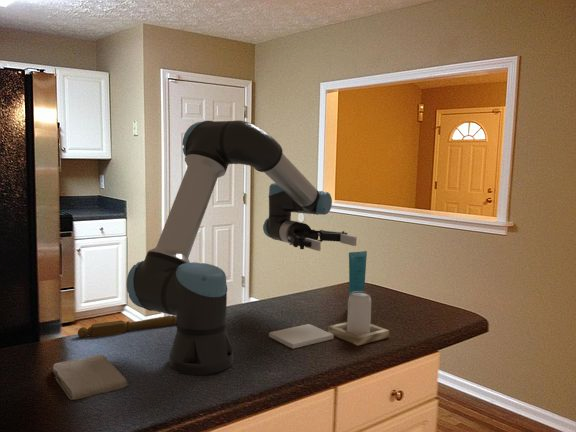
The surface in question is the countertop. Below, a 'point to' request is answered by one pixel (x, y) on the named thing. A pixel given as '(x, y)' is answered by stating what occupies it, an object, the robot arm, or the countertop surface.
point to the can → (359, 313)
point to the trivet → (301, 336)
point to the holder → (374, 335)
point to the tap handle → (124, 326)
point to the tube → (357, 271)
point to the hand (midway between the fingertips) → (338, 243)
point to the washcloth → (88, 376)
